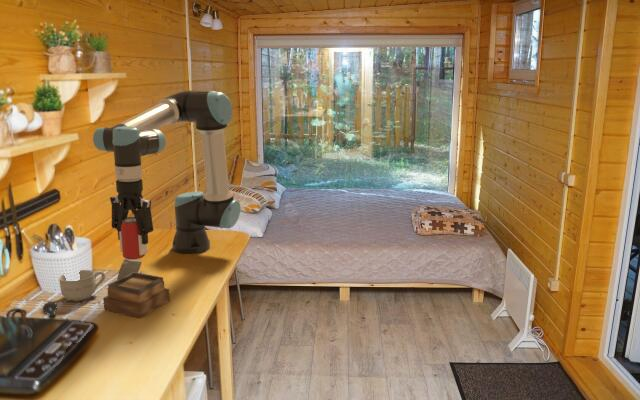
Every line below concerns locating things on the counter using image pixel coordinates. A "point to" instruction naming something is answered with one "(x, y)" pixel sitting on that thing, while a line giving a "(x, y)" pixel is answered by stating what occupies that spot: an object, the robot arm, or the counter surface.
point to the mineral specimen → (129, 267)
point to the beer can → (130, 238)
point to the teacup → (80, 285)
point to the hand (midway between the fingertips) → (133, 252)
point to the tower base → (137, 307)
